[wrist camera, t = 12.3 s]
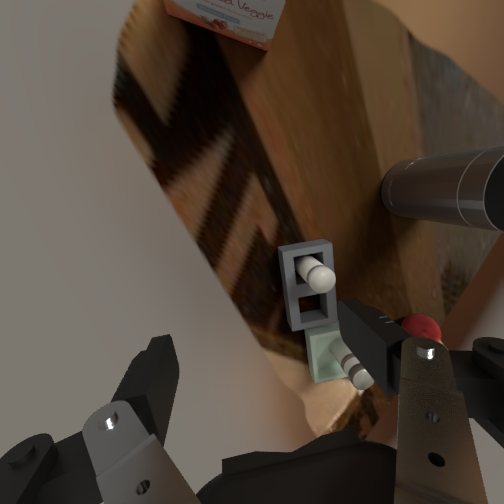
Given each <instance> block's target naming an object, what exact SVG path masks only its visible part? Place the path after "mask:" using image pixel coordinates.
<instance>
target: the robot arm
mask: <svg viewBox="0 0 504 504" xmlns="http://www.w3.org/2000/svg"><path fill="white" fill-rule="evenodd" d="M381 195H382V201H383V203H384V205H385V207H386V209H387V210H388V211H389V212H391V213H392V214H394V215H397V216H402V217H408V218H415V219H420V220H427V221H434V222H440V223H447V224H453V225H460V226H466V227H473V228H479V229H486V230H493V231H499V232H504V145H502V146H496V147H490V148H483V149H477V150H470V151H464V152H457V153H450V154H444V155H437V156H431V157H424V158H417V159H411V160H405V161H402V162H400V163H398V164H396V165H395V166H394V167H393V168H392V169H390V171H389V172H388V173H387V175H386V176H385V179H384V181H383V184H382V189H381ZM338 317H339V330H340V335H341V338H342V340H343V342H344V343H345V344H346V346H347V347H348V348H349V350H350V351H351V352H352V353H353V355H354V356H355V357H356V358H357V360H358V361H359V362H360V363H361V365H362V366H363V367H364V368H365V370H366V371H367V372H368V373H369V375H370V376H371V377H372V378H373V380H374V381H375V382H376V383H377V385H378V386H379V387H380V388H381V390H382V391H383V392H384V394H385V395H386V396H387V397H389V396H393V395H398V394H399V410H398V433H397V434H398V435H397V450H396V449H394V448H392V447H390V446H387V445H384V444H382V443H378V442H374V441H368V440H360V439H359V437H358V435H357V433H356V431H355V430H354V428H351V429H347V430H343V431H338V432H334V433H330V434H326V435H322V436H320V437H318V438H317V439H315V440H313V441H311V442H310V443H308V444H306V445H304V446H302V447H301V448H299V449H297V450H295V451H293V452H287V453H286V452H258V451H255V452H251V453H247V454H243V455H238V456H234V457H230V458H226V459H222V473H221V474H219V475H218V476H216V477H215V478H214V479H212V480H211V481H209V482H208V483H207V484H206V485H205V486H204V487H203V488H201V490H199V492H198V493H197V494H196V495H195V493H194V492H193V491H192V489H191V488H190V486H189V485H188V483H187V482H186V480H185V479H184V477H183V476H182V474H181V473H180V471H179V470H178V468H177V467H176V466H175V464H174V463H173V461H172V460H171V458H170V457H169V455H168V454H167V452H166V451H165V449H164V448H163V447H164V442H165V438H166V433H167V429H168V424H169V420H170V416H171V411H172V407H173V402H174V397H175V393H176V389H177V384H178V379H179V363H178V360H177V356H176V352H175V349H174V345H173V341H172V338H171V336H170V334H168V335H163V336H158V337H153V338H152V339H151V341H150V343H149V345H148V347H147V350H145V351H141V352H140V353H139V354H138V355H137V356H136V357H135V358H134V359H133V360H132V362H131V364H130V365H129V367H128V370H127V371H126V373H125V375H124V378H123V379H122V381H121V383H120V385H119V387H118V389H117V391H116V392H115V394H114V396H113V398H112V400H111V402H110V403H109V404H107V405H105V406H103V407H101V408H100V409H98V410H97V411H96V412H94V413H93V414H92V415H91V416H90V418H88V420H87V421H86V423H85V424H84V427H83V429H82V431H80V432H78V433H76V434H74V435H72V436H70V437H68V438H65V439H63V440H61V441H59V442H57V443H54V441H53V439H52V437H51V436H50V435H49V434H46V433H45V434H38V435H34V436H32V437H30V438H27V439H26V440H24V441H22V442H20V443H19V444H17V445H16V446H14V447H13V448H12V449H10V450H9V451H8V452H7V453H6V454H5V455H4V456H3V457H2V458H1V459H0V504H100V503H102V502H104V504H488V500H487V496H486V492H485V487H484V483H483V479H482V474H481V470H480V466H479V461H478V457H477V453H476V448H475V444H474V440H473V435H472V431H471V427H470V422H469V418H473V419H475V421H476V422H477V423H478V424H479V425H480V426H481V427H482V428H483V429H484V430H486V432H488V433H489V434H490V435H491V436H492V437H493V438H494V439H495V440H496V441H497V442H498V443H499V444H500V445H501V446H502V447H503V448H504V339H500V338H493V337H481V338H477V339H475V340H474V341H473V348H472V351H458V350H457V351H456V350H448V349H447V348H446V347H445V346H444V345H443V344H441V343H439V342H437V341H435V340H432V339H429V338H424V337H414V336H412V335H411V334H410V333H409V332H407V331H406V330H405V329H403V328H402V327H401V326H399V325H398V324H397V323H396V322H393V320H392V319H390V318H389V317H387V316H386V315H385V314H384V313H383V312H381V311H380V310H378V309H376V308H373V307H371V306H365V305H363V304H362V303H361V302H360V301H358V300H357V299H356V298H350V299H345V300H340V301H338Z"/></svg>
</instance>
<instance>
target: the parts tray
mask: <svg viewBox="0 0 504 504" xmlns="http://www.w3.org/2000/svg"><path fill="white" fill-rule="evenodd" d="M305 337H306V346H307V355H308V364H309V373H310V375H311V377H312V379H313V381H314V383H315V384H317V383H321V382H326V381H330V380H335V379H339V378H344V377H348V376H347V375H346V374H345V372H344V371H343V369H342V368H341V366H340V365H339V363H338V362H337V360H336V359H335V357H334V356H333V354H332V353H331V352H330V350H329V345H330V343H331V341H332V340H333V339H335V338H339V337H340V338H341V335H340V330H339V320H338V322H336V323H331V324H326V325H321V326H317V327H312V328H307V329H305Z"/></svg>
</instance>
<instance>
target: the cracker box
mask: <svg viewBox="0 0 504 504" xmlns="http://www.w3.org/2000/svg"><path fill="white" fill-rule="evenodd" d="M163 2H164V5H165V8H166V12H167V14H168V15H172V16H174V17H177V18H180V19H182V20H185V21H188V22H190V23H193V24H196V25H198V26H201V27H204V28H206V29H209V30H212V31H214V32H217V33H220V34H222V35H225V36H228V37H230V38H233V39H236V40H238V41H241V42H243V43H246V44H249V45H251V46H254V47H256V48H259V49H262V50H265V51H268V49H269V46H270V44H271V41H272V39H273V36H274V33H275V30H276V27H277V24H278V21H279V18H280V16H281V13H282V10H283V8H284V5H285V2H286V0H163Z"/></svg>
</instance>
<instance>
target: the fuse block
mask: <svg viewBox="0 0 504 504" xmlns="http://www.w3.org/2000/svg"><path fill="white" fill-rule="evenodd" d="M312 253H316V260H318V261H319V262H320V263H322V264H323V265H324V266H326V267H328V268H329V269H330V270H332V271H333V272H334V262H333V248H332V243H331V242H329V241H327V240H325V239H319V240H314V241H308V242H303V243H297V244H292V245H286V246H281V247H278V254H279V262H280V270H281V277H282V285H283V292H284V300H285V307H286V315H287V321H288V323H289V325H290V327H291V329H292V331H297V330H302V329H307V328H312V327H317V326H321V325H326V324H331V323H336V322H338V316H337V302H336V289H335V285H334V286H333V288H332V289H331V290H330V291H328V292H326V293H317V292H315V291H314V290H313V289H312V288H311V287H310V286H309V285H308V283H307V282H306V281H305V280H304V279H303V278H302V277H301V276H299V277H295V268H294V259H293V257H296V256H302V255H307V254H312ZM315 294H319V296H320V307H321V309H317V310H312V311H307V312H302V313H300V311H299V302H298V298H300V297H305V296H310V295H315Z"/></svg>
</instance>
